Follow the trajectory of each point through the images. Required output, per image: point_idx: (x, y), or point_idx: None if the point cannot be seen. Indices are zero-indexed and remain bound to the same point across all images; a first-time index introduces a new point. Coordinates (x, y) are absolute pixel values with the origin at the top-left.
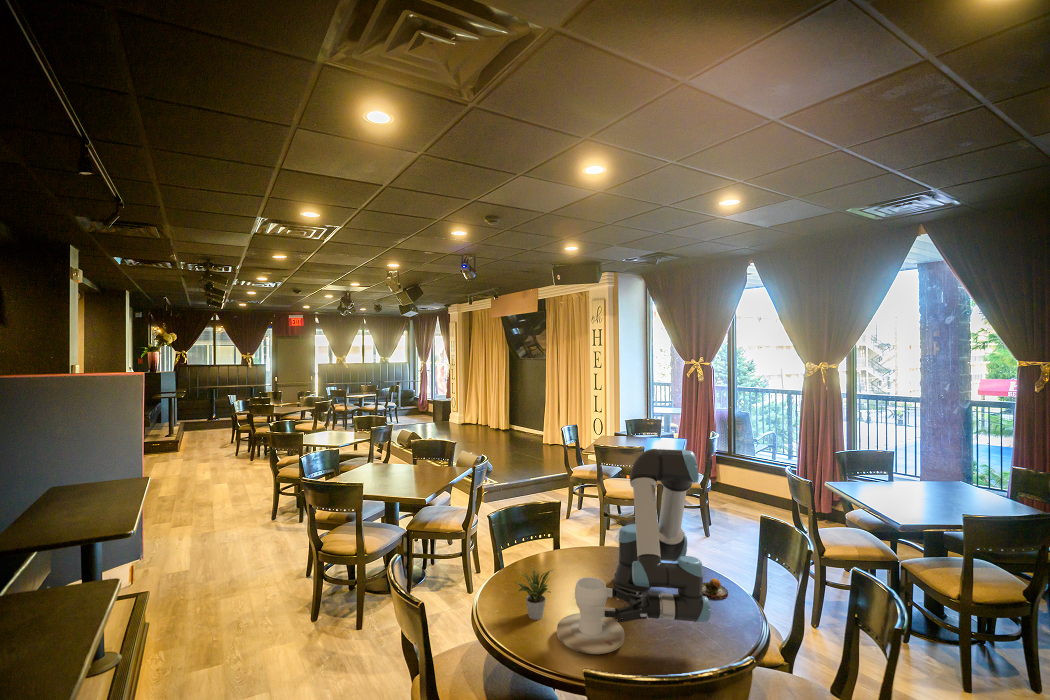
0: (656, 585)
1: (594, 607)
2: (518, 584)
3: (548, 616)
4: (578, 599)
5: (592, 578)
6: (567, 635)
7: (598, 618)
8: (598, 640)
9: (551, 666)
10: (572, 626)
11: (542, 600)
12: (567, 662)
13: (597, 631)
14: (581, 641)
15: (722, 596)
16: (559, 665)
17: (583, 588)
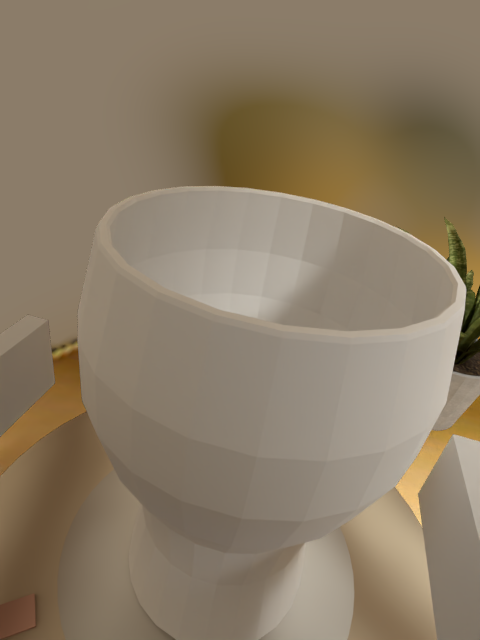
0: None
1: (28, 318)
2: (472, 271)
3: (435, 449)
4: (198, 279)
5: (450, 295)
6: None
7: (145, 515)
8: (61, 557)
9: (62, 368)
10: None
11: (456, 371)
12: (56, 419)
13: (132, 562)
14: (99, 454)
15: None
16: (53, 390)
17: (177, 189)
